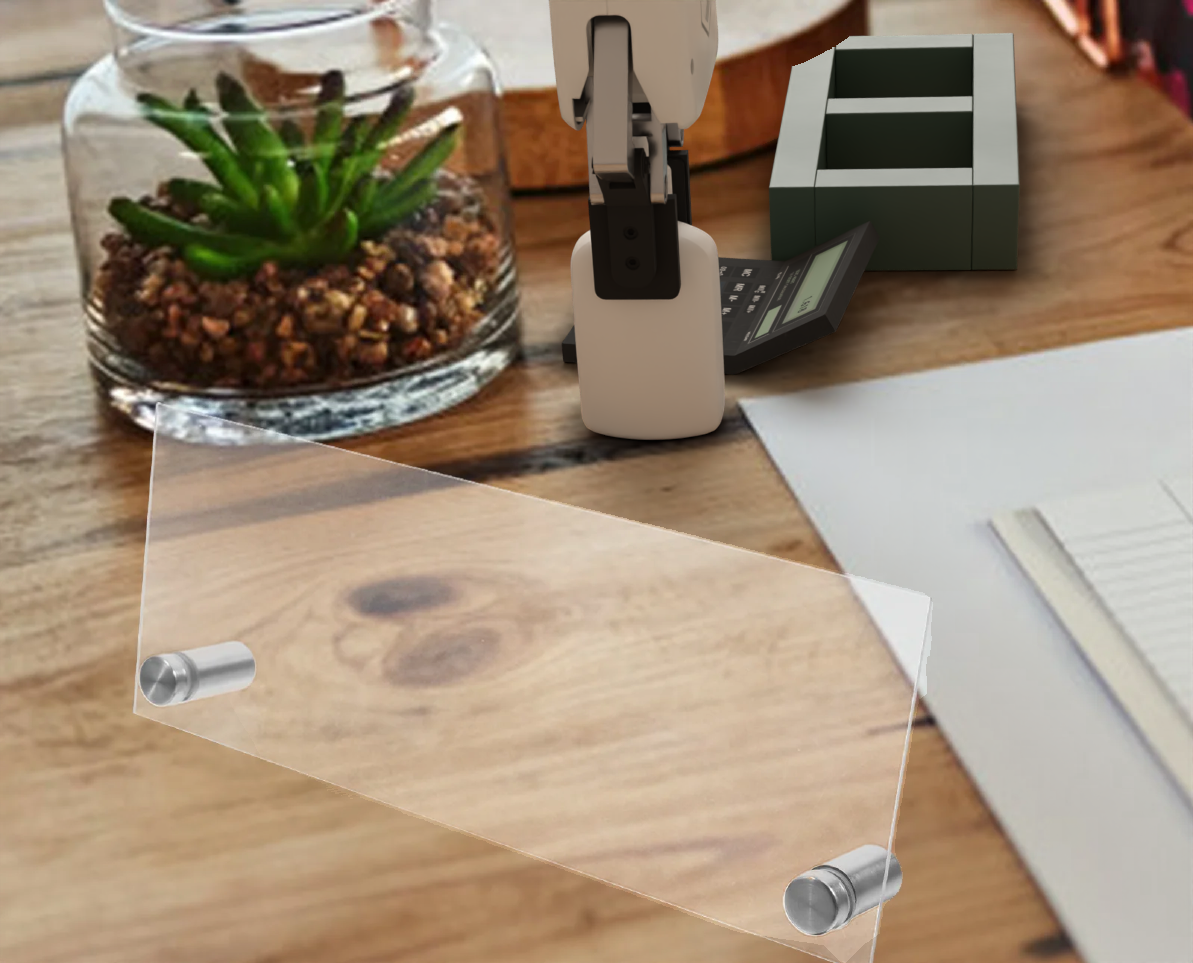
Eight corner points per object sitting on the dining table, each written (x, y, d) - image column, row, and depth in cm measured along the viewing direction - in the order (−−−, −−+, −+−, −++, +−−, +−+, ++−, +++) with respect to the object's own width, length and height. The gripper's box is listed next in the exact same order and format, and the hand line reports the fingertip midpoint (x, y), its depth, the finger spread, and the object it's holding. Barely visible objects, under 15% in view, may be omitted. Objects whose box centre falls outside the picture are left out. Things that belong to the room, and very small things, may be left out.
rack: (1011, 108, 119) (1013, 32, 117) (1017, 270, 102) (1019, 184, 100) (799, 112, 120) (797, 36, 118) (771, 271, 104) (768, 187, 102)
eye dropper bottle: (630, 383, 96) (611, 103, 89) (743, 416, 93) (732, 128, 86) (565, 427, 93) (540, 141, 86) (679, 462, 90) (662, 168, 83)
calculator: (624, 268, 105) (620, 206, 104) (880, 284, 102) (879, 221, 100) (563, 361, 98) (557, 296, 96) (836, 382, 95) (835, 314, 93)
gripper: (700, -161, 72) (723, 371, 82) (744, -281, 86) (759, 187, 96) (462, -153, 73) (512, 371, 83) (543, -272, 87) (579, 189, 97)
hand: (644, 268), depth 89 cm, fingers closed on eye dropper bottle, 3 cm apart
